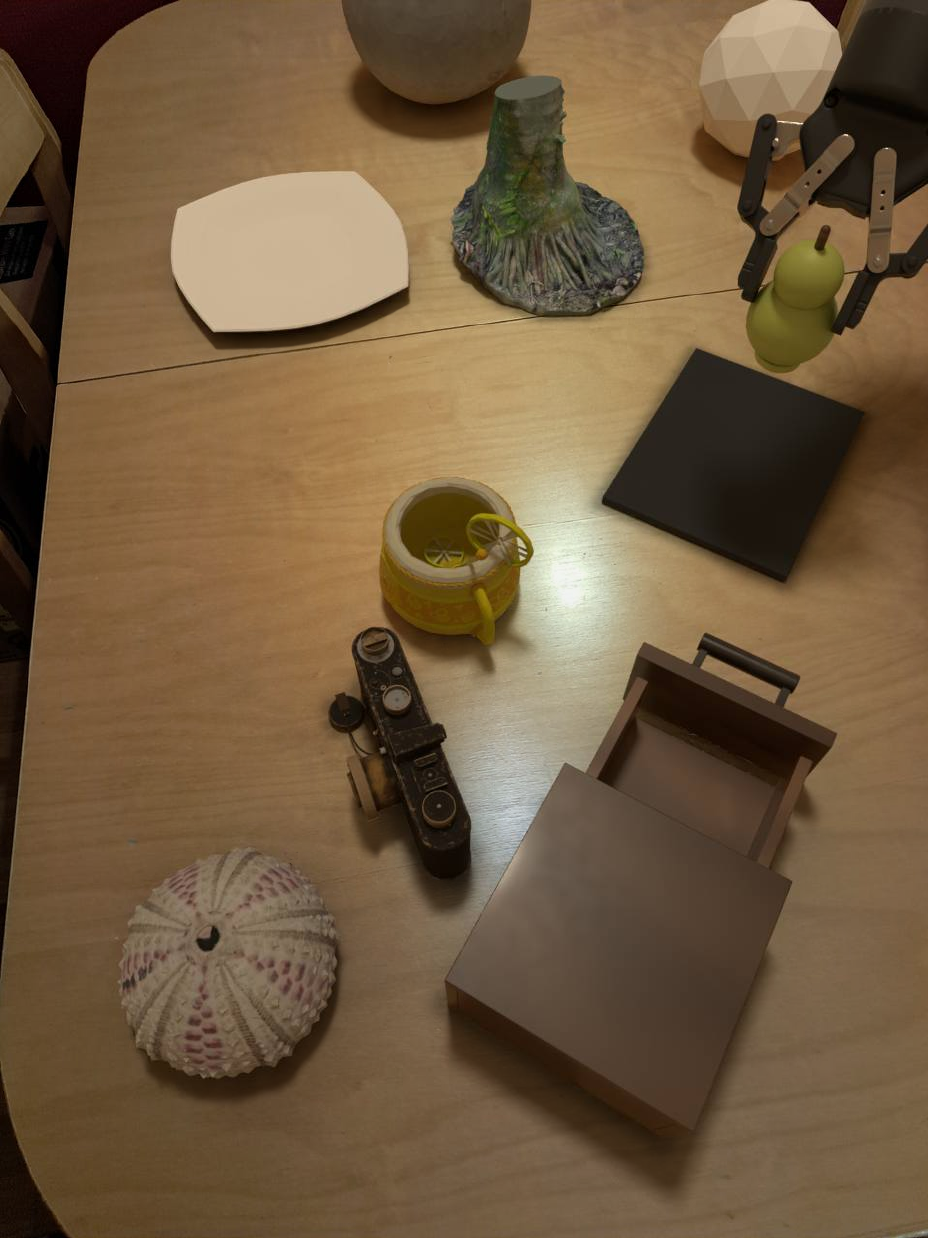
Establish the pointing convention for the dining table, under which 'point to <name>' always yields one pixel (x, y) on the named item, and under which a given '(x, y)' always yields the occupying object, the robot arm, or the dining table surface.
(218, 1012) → the sea urchin shell
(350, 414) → the dining table surface
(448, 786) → the camera
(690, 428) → the mat
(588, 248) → the tree stump
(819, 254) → the pear
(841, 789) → the dining table surface
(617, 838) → the cabinet
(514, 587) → the mug
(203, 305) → the plate
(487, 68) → the bowl
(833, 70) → the geometric sphere
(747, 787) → the drawer
